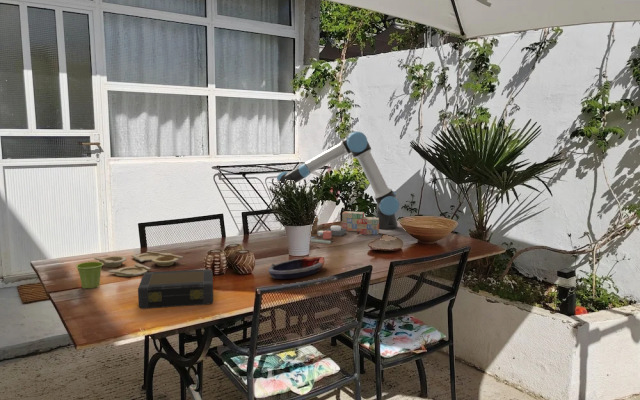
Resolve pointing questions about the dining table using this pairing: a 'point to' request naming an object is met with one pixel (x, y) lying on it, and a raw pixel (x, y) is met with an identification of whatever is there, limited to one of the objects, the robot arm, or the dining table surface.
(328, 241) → the board
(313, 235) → the pawn
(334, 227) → the dome
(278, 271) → the dish
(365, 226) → the stack of blocks
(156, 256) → the tableware set
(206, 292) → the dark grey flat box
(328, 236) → the die
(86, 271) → the plant pot
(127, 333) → the dining table surface
